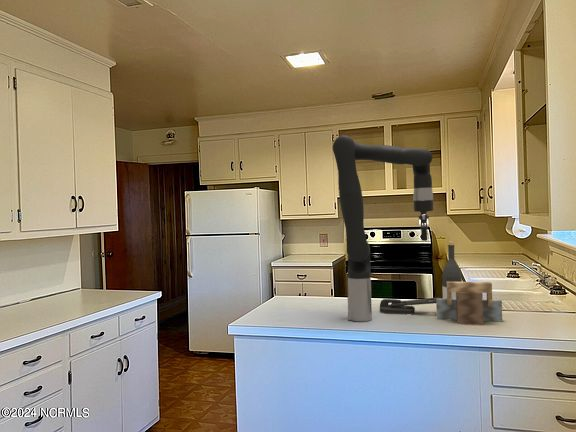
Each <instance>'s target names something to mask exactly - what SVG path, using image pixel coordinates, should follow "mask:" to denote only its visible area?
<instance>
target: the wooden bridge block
mask: <svg viewBox="0 0 576 432" xmlns="http://www.w3.org/2000/svg"><path fill="white" fill-rule="evenodd" d="M451 292H475V293H485V294H486V300H487V305H488V306H492V300H493V283H492V282H491V281H462V282H450V281H447V304H448V305H452V296H451Z"/></svg>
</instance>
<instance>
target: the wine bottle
mask: <svg viewBox="0 0 576 432" xmlns="http://www.w3.org/2000/svg"><path fill="white" fill-rule="evenodd" d="M447 248H448V249H447V250H448V251H447V252H448V259H447V261H446V263H445V265H444V267H443V270H442V275H441V282H442V285H441V286H442V299H447V281H450V282H463V275H462V271H461V269H460V265H458V263H457V261H456V259H455V243H454V241H450V240H449V241H448V244H447ZM451 296H452V299H456V292H451Z"/></svg>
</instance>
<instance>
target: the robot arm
mask: <svg viewBox="0 0 576 432" xmlns="http://www.w3.org/2000/svg"><path fill="white" fill-rule="evenodd" d="M332 152H333V154H334V159H335V163H336V167H337V177H338V178H337V179H338V180H337V181H338V196H339V204H340V208H341V209H340V210H341V214H342V215H341V216H342V219H343V223H344V227H345V237H346V239H345V240H346V254H347V285H348V287H347V288H348V293H347V294H348V296H347V319H348V321H353V322H361V323H362V322H369V321H371V320H373V318H372V317H373V313H372V311H373V310H372V309H373V308H372V279H371V274H372V273H371V272H372V270H371V268H372V267H371V247H370V244H369V242H368V240H367V236H366V233H365V227H364V221H365V220H364V218H365V217H364V213H365V211H364V209H365V208H364V200H363V199H364V198H363V194H362V193H363V192H362V187H361V182H360V179H359V175H358V171H357V166H356V164H357V163H356V160H365V161H366V160H367V161H375V162H381V163H385V164H386V163H387V164H394V165H410V166H411V165H412V172H413V194H412V195H413V211H414V212H419V213H420V215H419V216H418V221H419V227H420V233H421V236H420V238H421V239H420V240H421V241H423V242H425V241H426V242H427V241H428V229H429V228H428V227H429V221H430V216H429V215H428V214H427V212H433V211H434V192H433V177H432V175H431V167H430V164H431V163H432V162H433V154H432V152H431V151H430V150H428V149H426V148H418V147H402V146H397V145H388V144H387V145H385V144H365V143H361V142H360V143H359V142H357V141H354V139H353V138H351V136H348V135H339V136H338V137H336V139H335V140H334V141H333V144H332Z"/></svg>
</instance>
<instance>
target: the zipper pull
mask: <svg viewBox="0 0 576 432" xmlns="http://www.w3.org/2000/svg"><path fill="white" fill-rule="evenodd" d="M436 298H439V297H430V298H429V297H428V298H422V299H421V298H420V299H419V298H418V299H411V300H410V299H409V300H401V299H396V298H395V299H394V298H393V299H392V298H383V299H382V300H381V301H380V303H379V313H380V314H385V315H407V314H411V315H414V314H415V313H416V307H415V305H416V306H419V305H431V304H436ZM390 303H391V304H390ZM413 313H414V314H413Z"/></svg>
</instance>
